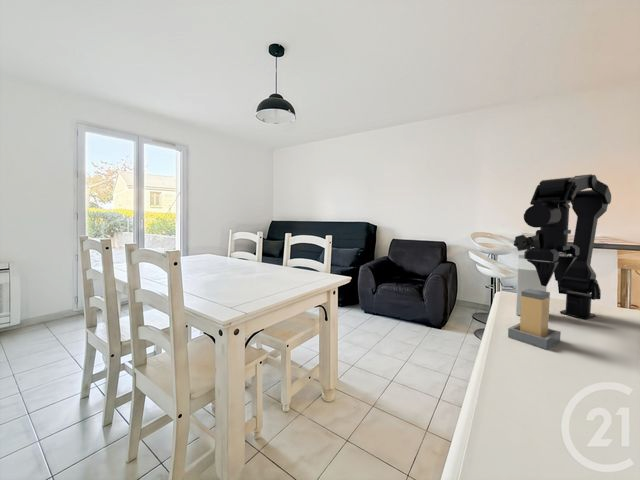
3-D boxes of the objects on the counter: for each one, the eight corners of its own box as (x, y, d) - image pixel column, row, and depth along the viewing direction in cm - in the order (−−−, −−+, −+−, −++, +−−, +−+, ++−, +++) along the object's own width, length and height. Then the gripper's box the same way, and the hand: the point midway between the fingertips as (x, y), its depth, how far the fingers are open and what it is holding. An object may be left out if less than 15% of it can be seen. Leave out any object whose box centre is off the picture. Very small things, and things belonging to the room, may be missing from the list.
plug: (527, 332, 73) (529, 288, 72) (547, 338, 70) (549, 292, 69) (519, 336, 71) (521, 291, 70) (540, 343, 67) (542, 295, 66)
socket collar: (522, 329, 76) (523, 321, 76) (560, 340, 69) (560, 331, 69) (507, 337, 72) (508, 328, 72) (546, 349, 65) (546, 340, 65)
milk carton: (544, 320, 82) (547, 257, 81) (515, 315, 87) (518, 256, 85) (543, 313, 88) (546, 254, 86) (516, 309, 92) (518, 253, 91)
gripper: (533, 224, 85) (531, 274, 86) (503, 226, 75) (501, 282, 77) (581, 225, 76) (578, 280, 77) (554, 227, 66) (550, 291, 67)
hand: (551, 283), depth 75 cm, fingers open, 9 cm apart
